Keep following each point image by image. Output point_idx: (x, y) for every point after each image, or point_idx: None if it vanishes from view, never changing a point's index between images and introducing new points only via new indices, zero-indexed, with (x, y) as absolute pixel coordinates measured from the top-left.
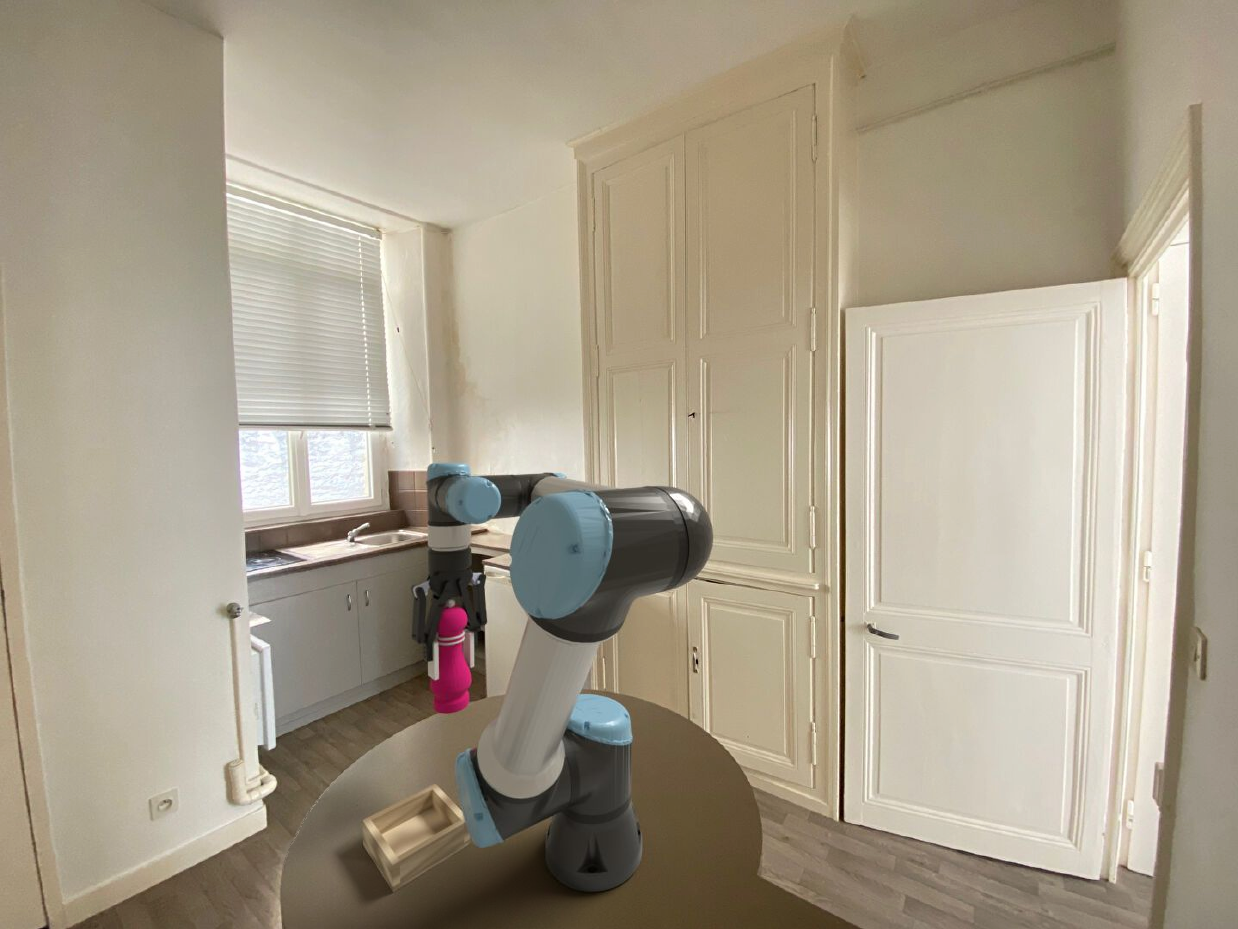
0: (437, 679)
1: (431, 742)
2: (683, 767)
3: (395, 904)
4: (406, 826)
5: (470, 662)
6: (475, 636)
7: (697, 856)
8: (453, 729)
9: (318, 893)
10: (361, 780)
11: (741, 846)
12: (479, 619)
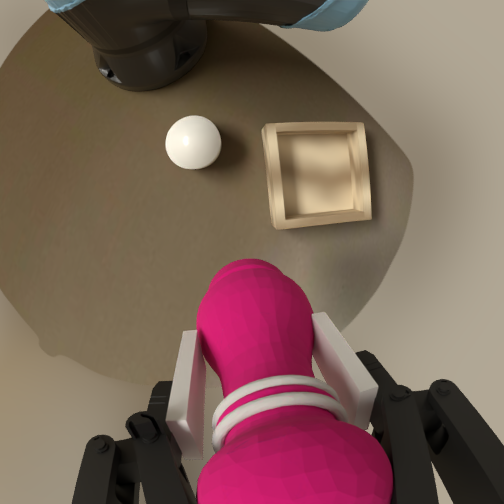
0: (311, 318)
1: None
2: (7, 111)
3: (351, 113)
4: (317, 203)
5: (196, 340)
6: (157, 411)
7: None
8: None
9: (399, 180)
10: None
11: None
12: (121, 470)
